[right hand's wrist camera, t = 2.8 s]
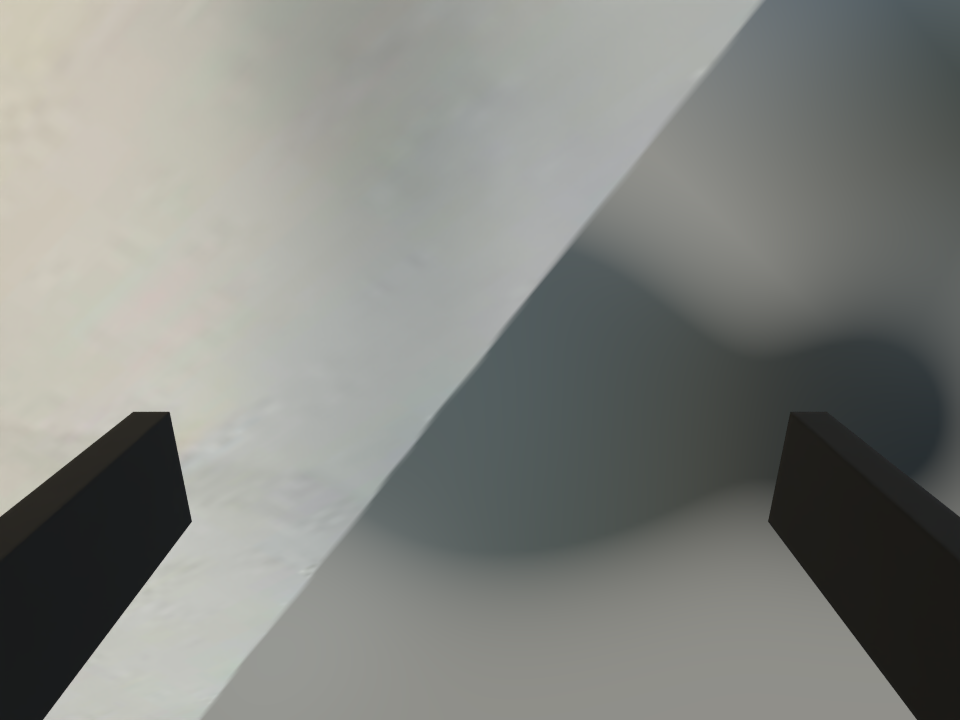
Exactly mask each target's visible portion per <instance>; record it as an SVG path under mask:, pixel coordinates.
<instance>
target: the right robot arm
mask: <svg viewBox="0 0 960 720" xmlns="http://www.w3.org/2000/svg"><path fill="white" fill-rule="evenodd" d="M191 522H192V520H191V515H190V510H189V505H188V500H187V495H186V491H185V486H184V481H183V476H182V471H181V466H180V461H179V456H178V451H177V446H176V441H175V436H174V431H173V427H172V422H171V417H170V412H133V413H131V414H130V415H129V416H127V417H126V418H125V419H124V420H122V421H121V422H120V423H119V424H117V425H116V426H115V427H114V428H112V429H111V430H110V431H109V432H107V433H106V434H105V435H103V436H102V437H101V438H100V439H98V440H97V441H96V442H95V443H93V444H92V445H91V446H90V447H88V448H87V449H86V450H84V451H83V452H82V453H81V454H79V455H78V456H77V457H76V458H74V459H73V460H72V461H71V462H69V463H68V464H67V465H65V466H64V467H63V468H62V469H60V470H59V471H58V472H57V473H55V474H54V475H53V476H52V477H50V478H49V479H48V480H46V481H45V482H44V483H43V484H41V485H40V486H39V487H38V488H36V489H35V490H34V491H33V492H31V493H30V494H29V495H28V496H26V497H25V498H24V499H22V500H21V501H20V502H19V503H17V504H16V505H15V506H14V507H12V508H11V509H10V510H9V511H7V512H6V513H5V514H3V515H2V516H1V517H0V720H43V719H44V718H45V716H46V715H47V714H48V712H49V711H50V710H51V708H52V707H53V706H54V704H55V703H56V702H57V700H58V699H59V698H60V696H61V695H62V694H63V692H64V691H65V690H66V688H67V687H68V686H69V684H70V683H71V682H72V680H73V679H74V678H75V676H76V675H77V674H78V672H79V671H80V670H81V668H82V667H83V666H84V664H85V663H86V662H87V660H88V659H89V658H90V656H91V655H92V654H93V652H94V651H95V650H96V648H97V647H98V646H99V644H100V643H101V642H102V640H103V639H104V638H105V636H106V635H107V634H108V632H109V631H110V630H111V628H112V627H113V626H114V624H115V623H116V622H117V620H118V619H119V618H120V616H121V615H122V614H123V612H124V611H125V610H126V608H127V607H128V606H129V604H130V603H131V602H132V600H133V599H134V598H135V596H136V595H137V594H138V593H139V591H140V590H141V589H142V587H143V586H144V585H145V583H146V582H147V581H148V579H149V578H150V577H151V575H152V574H153V573H154V571H155V570H156V569H157V567H158V566H159V565H160V563H161V562H162V561H163V559H164V558H165V557H166V555H167V554H168V553H169V551H170V550H171V549H172V547H173V546H174V545H175V543H176V542H177V541H178V539H179V538H180V537H181V535H182V534H183V533H184V531H185V530H186V529H187V527H188V526H189V525H190V523H191ZM768 522H769V523H770V525H771V526H772V527H773V529H774V530H775V531H776V533H777V534H778V535H779V537H780V538H781V539H782V541H783V542H784V543H785V545H786V546H787V547H788V549H789V550H790V551H791V553H792V554H793V555H794V557H795V558H796V559H797V561H798V562H799V563H800V565H801V566H802V567H803V569H804V570H805V571H806V573H807V574H808V575H809V577H810V578H811V579H812V581H813V582H814V583H815V584H816V586H817V587H818V589H819V590H820V591H821V593H822V594H823V595H824V596H825V598H826V599H827V600H828V602H829V603H830V604H831V606H832V607H833V608H834V610H835V611H836V612H837V614H838V615H839V616H840V618H841V619H842V620H843V622H844V623H845V624H846V626H847V627H848V628H849V630H850V631H851V632H852V634H853V635H854V636H855V638H856V639H857V640H858V642H859V643H860V644H861V646H862V647H863V648H864V650H865V651H866V652H867V654H868V655H869V656H870V658H871V659H872V660H873V662H874V663H875V664H876V666H877V667H878V668H879V670H880V671H881V672H882V674H883V675H884V676H885V678H886V679H887V680H888V682H889V683H890V684H891V686H892V687H893V688H894V690H895V691H896V692H897V694H898V695H899V696H900V698H901V699H902V700H903V702H904V703H905V704H906V706H907V707H908V708H909V710H910V711H911V712H912V714H913V715H914V716H915V718H916V719H917V720H960V517H959V516H958V515H956V514H955V513H954V512H953V511H951V510H950V509H949V508H948V507H946V506H945V505H944V504H943V503H941V502H940V501H939V500H938V499H936V498H935V497H934V496H932V495H931V494H930V493H929V492H927V491H926V490H925V489H924V488H922V487H921V486H920V485H919V484H917V483H916V482H915V481H914V480H912V479H911V478H910V477H908V476H907V475H906V474H905V473H903V472H902V471H901V470H900V469H898V468H897V467H896V466H894V465H893V464H892V463H891V462H889V461H888V460H887V459H886V458H884V457H883V456H882V455H881V454H879V453H878V452H877V451H876V450H874V449H873V448H872V447H870V446H869V445H868V444H867V443H865V442H864V441H863V440H862V439H860V438H859V437H858V436H857V435H855V434H854V433H853V432H851V431H850V430H849V429H848V428H846V427H845V426H844V425H843V424H841V423H840V422H839V421H838V420H836V419H835V418H834V417H832V416H831V415H830V414H829V413H827V412H790V417H789V422H788V427H787V431H786V436H785V441H784V446H783V451H782V456H781V461H780V466H779V471H778V476H777V481H776V486H775V491H774V496H773V500H772V505H771V510H770V515H769V520H768Z"/></svg>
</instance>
